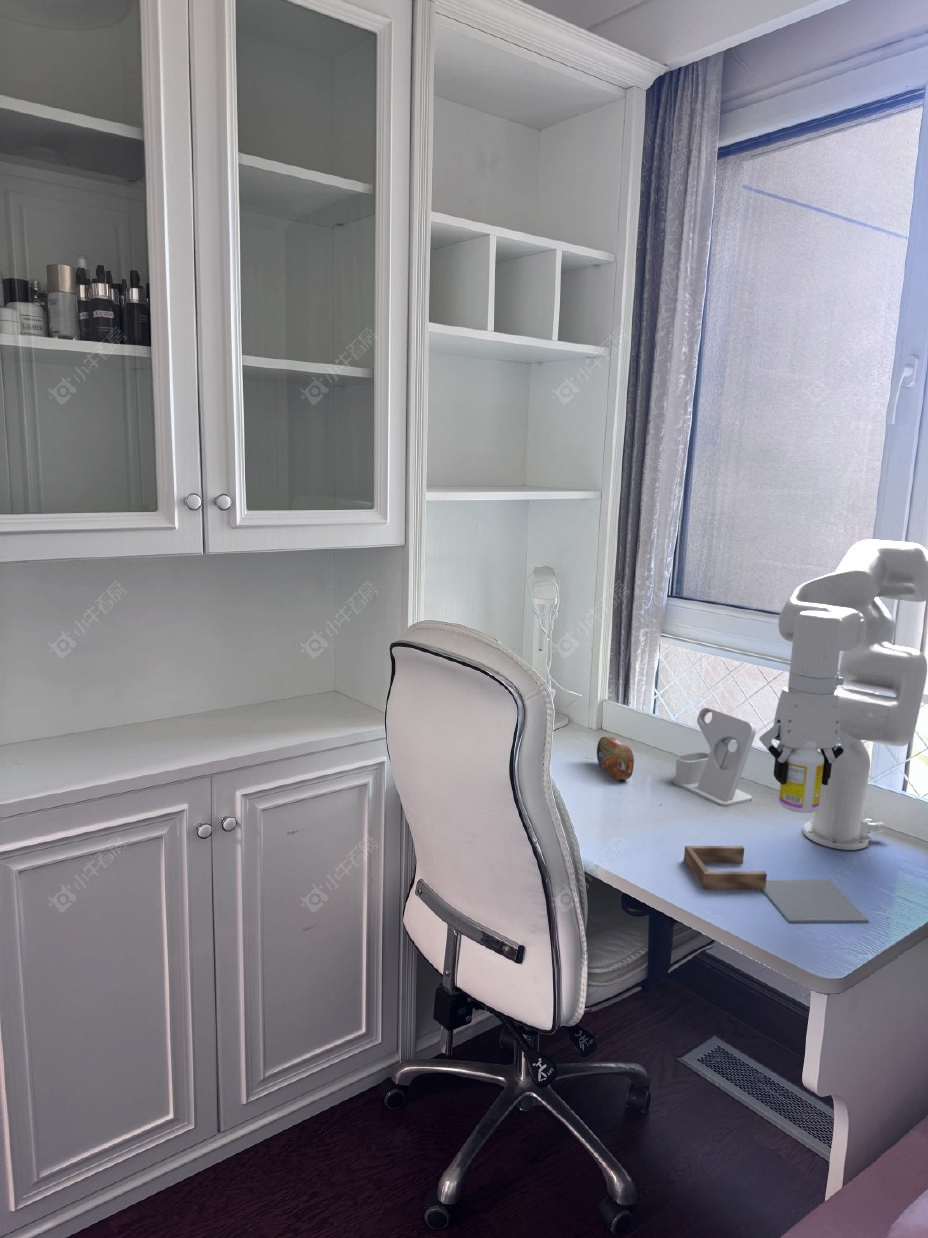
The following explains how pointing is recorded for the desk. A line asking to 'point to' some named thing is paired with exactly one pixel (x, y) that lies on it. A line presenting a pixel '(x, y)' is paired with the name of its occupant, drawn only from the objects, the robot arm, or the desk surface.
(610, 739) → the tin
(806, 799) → the supplement bottle
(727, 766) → the phone holder
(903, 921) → the desk surface
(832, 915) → the mat
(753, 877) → the wooden u-shaped frame
